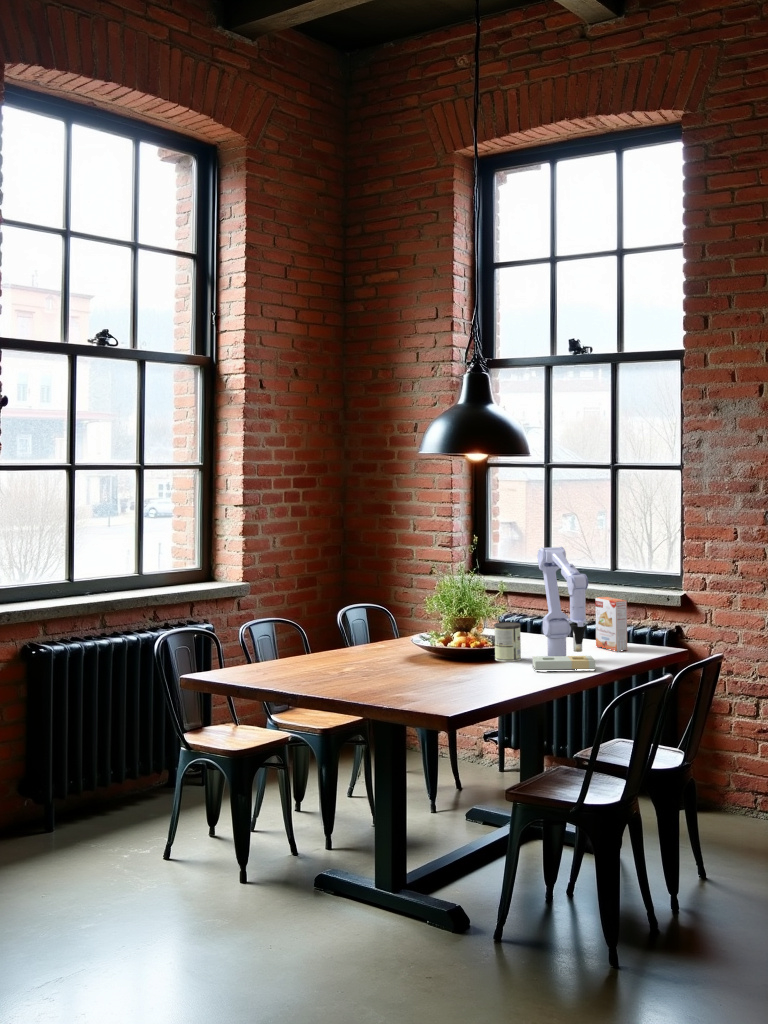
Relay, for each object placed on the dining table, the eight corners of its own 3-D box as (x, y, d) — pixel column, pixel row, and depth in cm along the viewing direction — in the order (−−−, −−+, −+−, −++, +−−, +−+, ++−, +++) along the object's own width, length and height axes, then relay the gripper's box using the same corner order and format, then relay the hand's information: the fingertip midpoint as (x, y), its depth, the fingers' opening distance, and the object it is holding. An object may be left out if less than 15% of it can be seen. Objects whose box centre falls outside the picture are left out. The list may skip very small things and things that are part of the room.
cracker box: (595, 647, 450) (594, 597, 449) (606, 646, 453) (606, 596, 452) (615, 652, 437) (615, 600, 436) (627, 651, 440) (627, 599, 439)
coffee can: (494, 657, 432) (494, 622, 431) (520, 657, 431) (520, 622, 430) (494, 662, 422) (494, 626, 421) (521, 662, 421) (520, 626, 420)
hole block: (532, 667, 410) (532, 656, 410) (591, 666, 409) (591, 655, 409) (535, 672, 400) (535, 661, 400) (595, 671, 400) (595, 660, 399)
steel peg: (573, 650, 406) (572, 629, 406) (581, 650, 406) (581, 628, 405) (574, 651, 403) (573, 630, 402) (582, 651, 403) (582, 630, 402)
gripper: (564, 604, 411) (564, 640, 412) (569, 609, 396) (570, 646, 397) (583, 604, 411) (583, 639, 411) (589, 609, 396) (589, 646, 397)
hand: (578, 643), depth 404 cm, fingers closed on steel peg, 3 cm apart
